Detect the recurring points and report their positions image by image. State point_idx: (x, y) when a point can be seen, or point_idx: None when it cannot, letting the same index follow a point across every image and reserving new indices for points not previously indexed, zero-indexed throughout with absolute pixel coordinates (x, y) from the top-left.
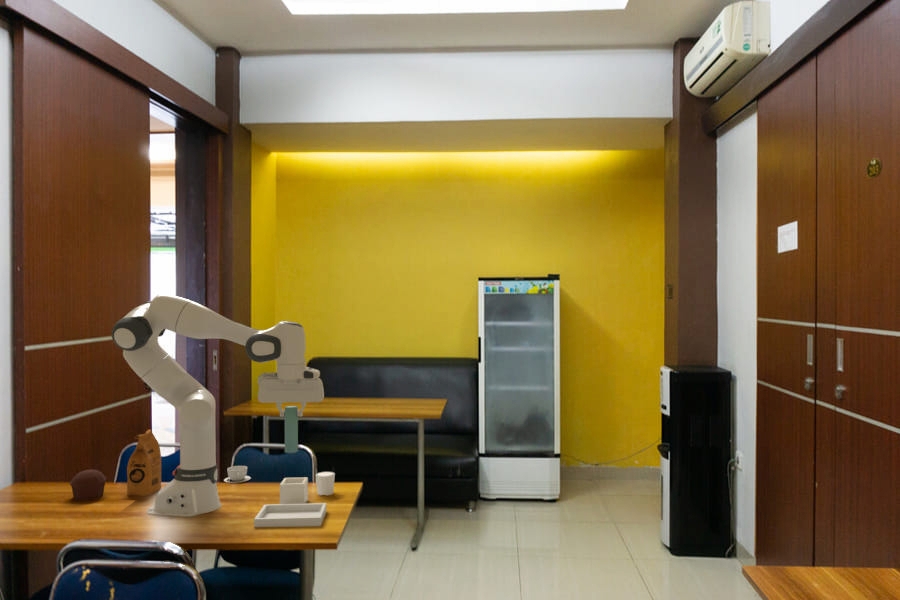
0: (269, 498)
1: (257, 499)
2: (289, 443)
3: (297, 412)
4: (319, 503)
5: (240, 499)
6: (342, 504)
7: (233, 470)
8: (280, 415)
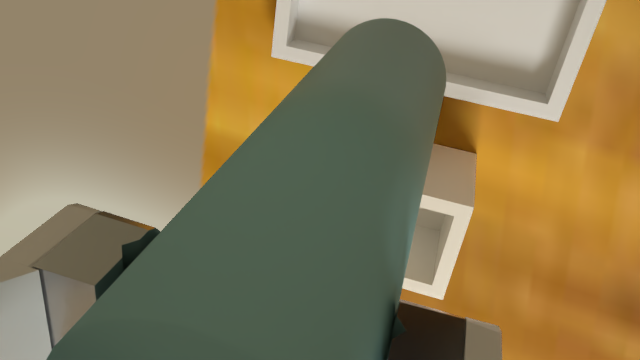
0: (507, 286)
1: (558, 292)
2: (389, 47)
3: (106, 263)
4: (301, 59)
5: (631, 316)
6: (225, 123)
7: None
8: (486, 329)
